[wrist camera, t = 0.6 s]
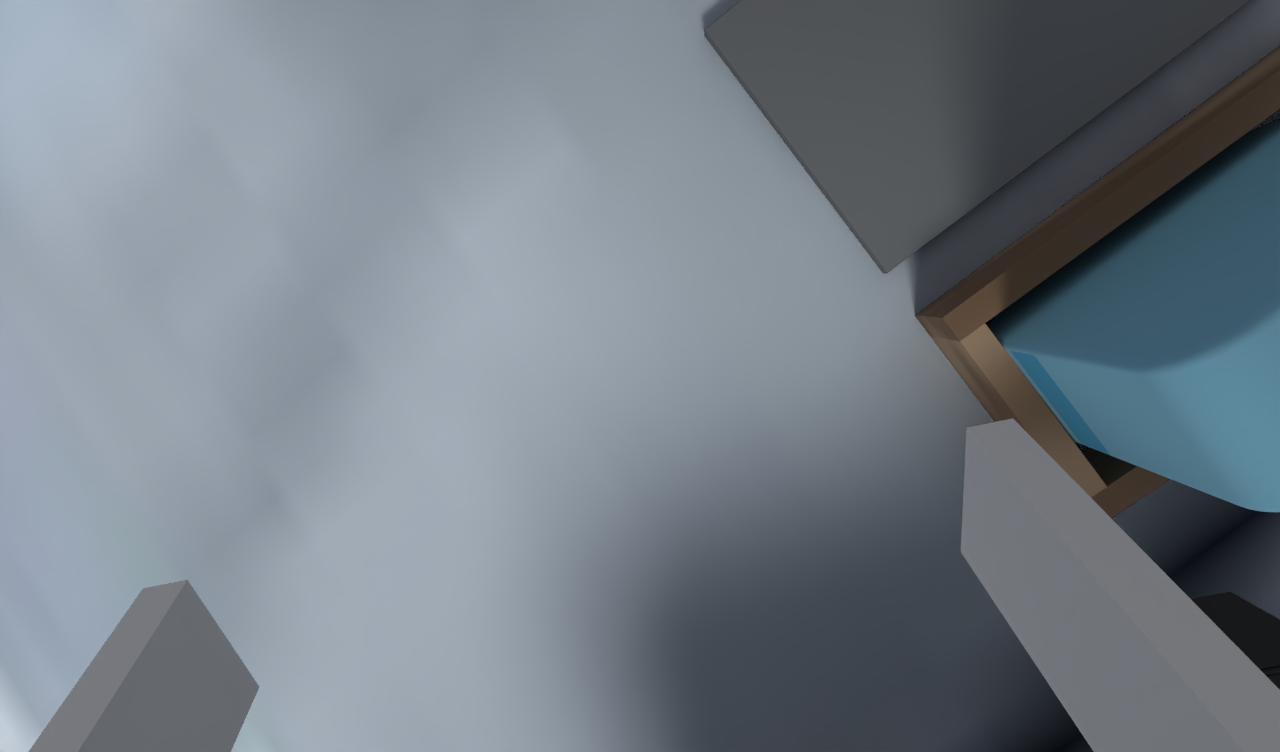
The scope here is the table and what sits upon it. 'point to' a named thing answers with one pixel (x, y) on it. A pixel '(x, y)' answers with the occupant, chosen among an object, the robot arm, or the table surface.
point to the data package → (1172, 331)
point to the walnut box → (1060, 241)
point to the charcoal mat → (940, 92)
